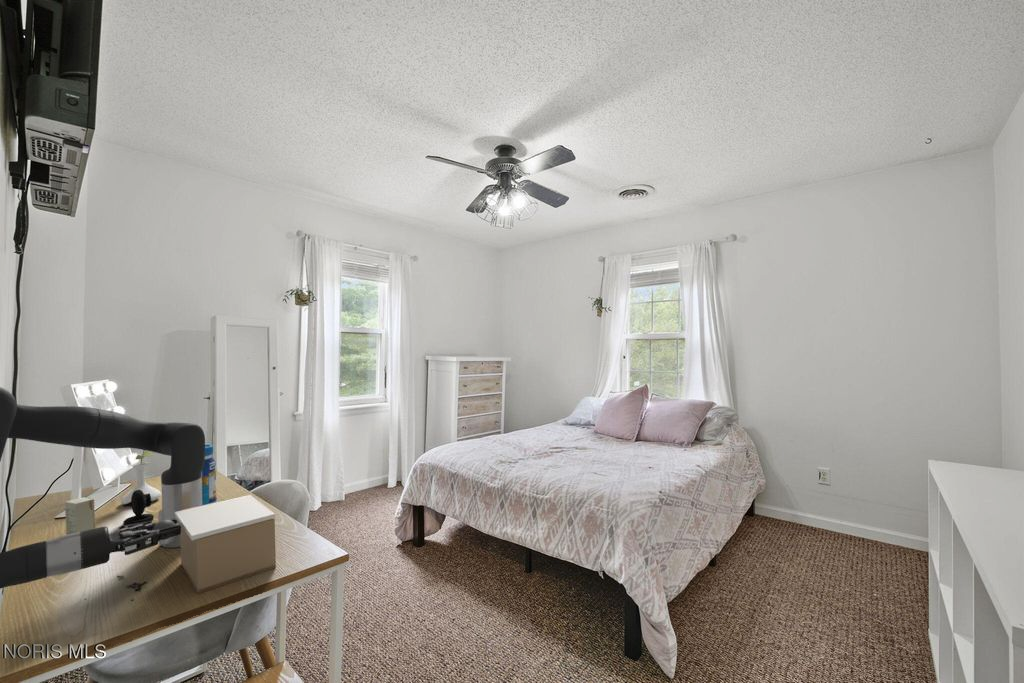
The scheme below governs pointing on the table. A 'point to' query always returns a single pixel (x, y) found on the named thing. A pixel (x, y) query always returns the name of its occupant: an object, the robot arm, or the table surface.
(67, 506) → the skincare box
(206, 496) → the beverage bottle
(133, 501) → the webcam
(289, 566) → the table surface
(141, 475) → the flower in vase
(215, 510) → the white box lid
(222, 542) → the carton
